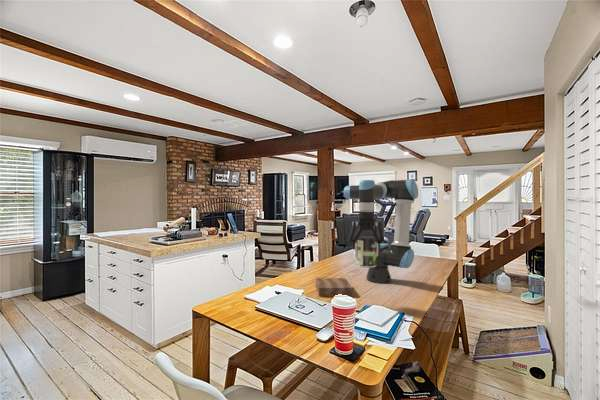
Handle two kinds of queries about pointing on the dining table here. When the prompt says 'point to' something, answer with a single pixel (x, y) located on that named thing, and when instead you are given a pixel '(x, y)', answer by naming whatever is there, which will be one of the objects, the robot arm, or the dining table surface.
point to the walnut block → (333, 286)
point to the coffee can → (366, 251)
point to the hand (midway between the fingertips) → (365, 255)
